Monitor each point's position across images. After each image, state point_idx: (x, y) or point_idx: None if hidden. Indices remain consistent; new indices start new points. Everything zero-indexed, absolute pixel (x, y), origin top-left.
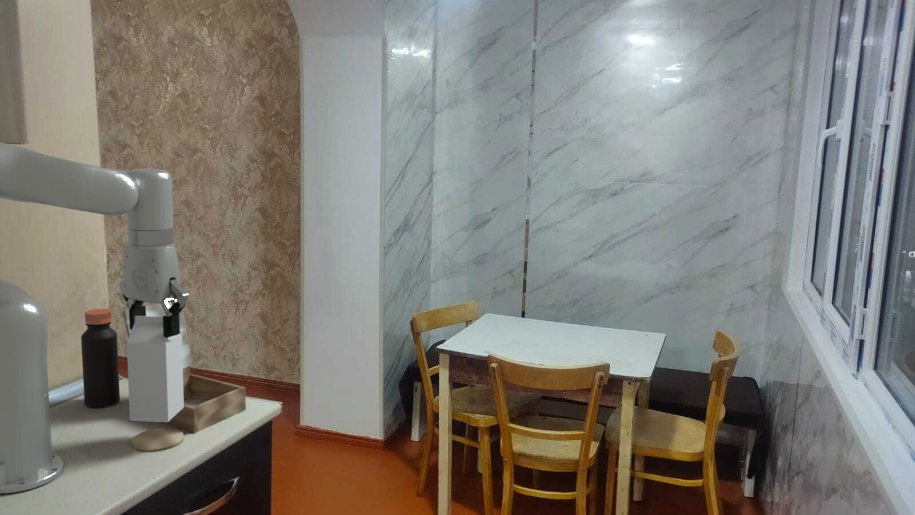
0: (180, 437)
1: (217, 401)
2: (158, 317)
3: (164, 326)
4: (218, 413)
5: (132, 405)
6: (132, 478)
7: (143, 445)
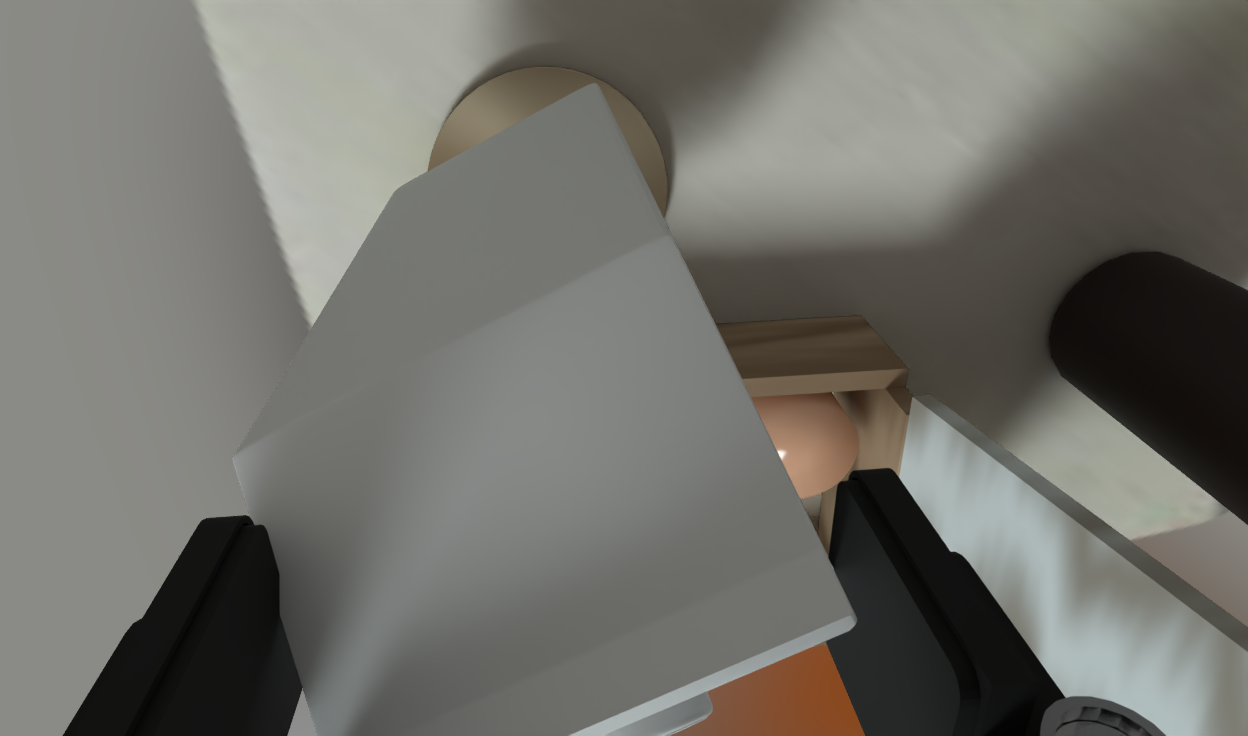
0: None
1: None
2: None
3: (155, 622)
4: None
5: (580, 105)
6: None
7: (530, 95)
